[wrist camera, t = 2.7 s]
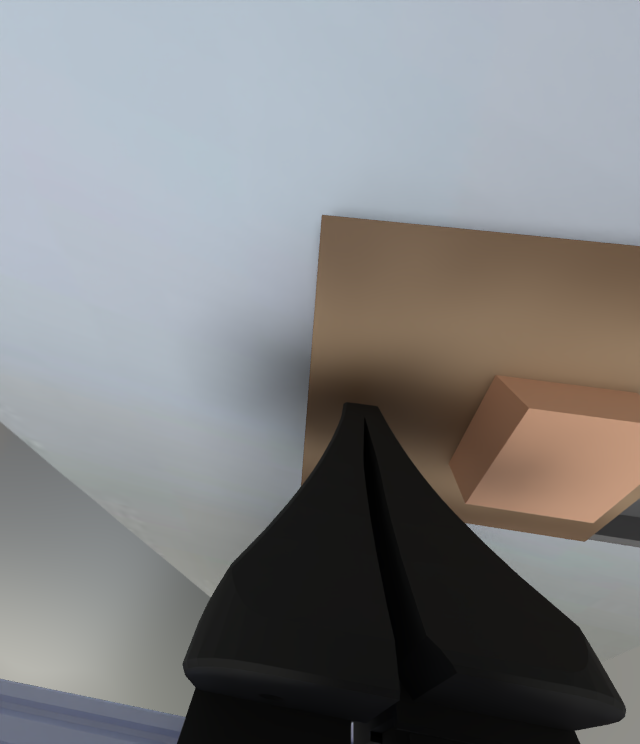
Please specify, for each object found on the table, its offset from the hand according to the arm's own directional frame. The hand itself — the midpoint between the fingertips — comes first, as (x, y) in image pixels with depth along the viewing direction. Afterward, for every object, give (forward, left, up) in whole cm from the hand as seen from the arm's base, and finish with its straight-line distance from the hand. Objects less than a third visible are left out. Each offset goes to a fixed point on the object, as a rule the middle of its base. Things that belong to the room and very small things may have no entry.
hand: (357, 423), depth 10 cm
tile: (0, -7, -1) cm, 7 cm away
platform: (0, -6, -4) cm, 7 cm away
